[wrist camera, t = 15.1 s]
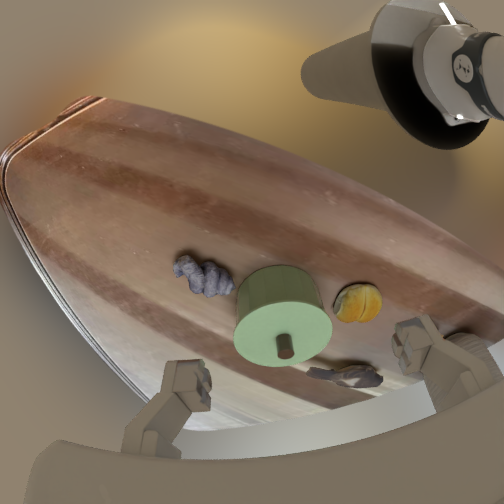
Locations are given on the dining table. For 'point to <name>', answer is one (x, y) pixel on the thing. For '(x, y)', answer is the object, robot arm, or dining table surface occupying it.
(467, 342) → the vase
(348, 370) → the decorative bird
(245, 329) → the pot lid
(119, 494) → the robot arm
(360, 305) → the bread roll
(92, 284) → the dining table surface
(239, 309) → the pot
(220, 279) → the seashell
